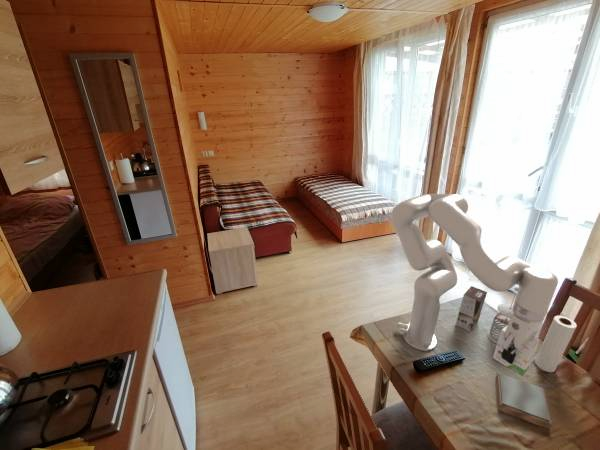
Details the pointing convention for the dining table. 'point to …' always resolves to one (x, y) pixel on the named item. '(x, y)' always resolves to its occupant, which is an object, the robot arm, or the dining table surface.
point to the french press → (500, 320)
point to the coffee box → (471, 308)
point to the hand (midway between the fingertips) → (512, 356)
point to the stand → (522, 400)
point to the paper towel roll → (555, 343)
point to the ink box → (517, 354)
